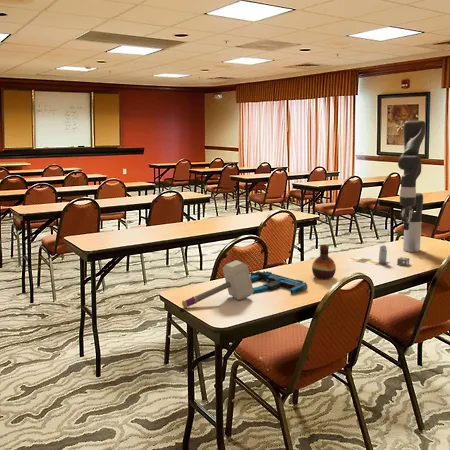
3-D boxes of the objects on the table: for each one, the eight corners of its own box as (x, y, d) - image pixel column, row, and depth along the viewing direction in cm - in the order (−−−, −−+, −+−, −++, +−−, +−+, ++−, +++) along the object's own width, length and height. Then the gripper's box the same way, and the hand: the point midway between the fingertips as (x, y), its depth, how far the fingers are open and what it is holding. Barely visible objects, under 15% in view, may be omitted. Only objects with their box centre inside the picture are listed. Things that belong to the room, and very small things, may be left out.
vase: (335, 274, 259) (336, 243, 257) (335, 281, 249) (336, 248, 246) (312, 273, 262) (313, 243, 259) (311, 280, 251) (311, 247, 248)
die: (400, 265, 275) (400, 257, 275) (409, 267, 273) (409, 258, 272) (397, 267, 272) (397, 258, 271) (405, 268, 269) (406, 260, 268)
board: (353, 259, 290) (353, 256, 290) (391, 264, 277) (391, 262, 277) (345, 262, 282) (345, 260, 282) (383, 268, 270) (383, 266, 269)
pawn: (380, 262, 277) (381, 244, 276) (387, 263, 275) (388, 244, 273) (377, 263, 274) (378, 245, 273) (384, 264, 272) (385, 246, 271)
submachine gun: (220, 277, 247) (259, 266, 263) (221, 285, 248) (260, 273, 264) (274, 294, 221) (313, 280, 237) (274, 303, 222) (313, 288, 238)
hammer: (182, 290, 207) (246, 262, 220) (174, 285, 214) (237, 258, 226) (192, 324, 212) (254, 295, 224) (184, 318, 218) (245, 290, 231)
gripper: (405, 194, 275) (403, 227, 278) (395, 196, 265) (393, 231, 268) (419, 194, 270) (418, 228, 273) (410, 197, 260) (408, 232, 263)
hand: (406, 229), depth 271 cm, fingers closed
